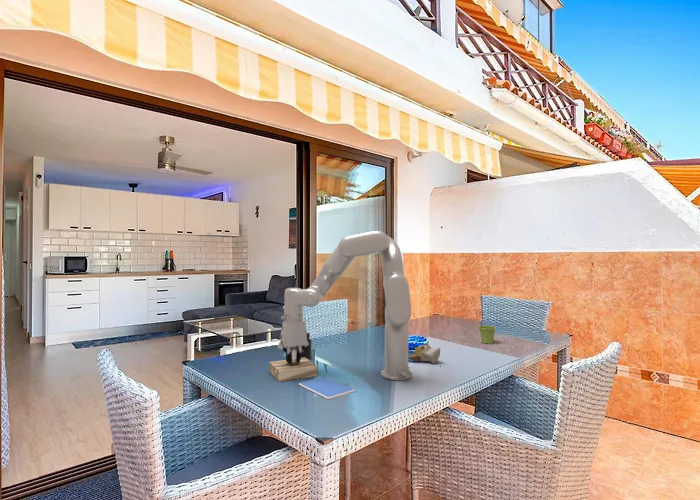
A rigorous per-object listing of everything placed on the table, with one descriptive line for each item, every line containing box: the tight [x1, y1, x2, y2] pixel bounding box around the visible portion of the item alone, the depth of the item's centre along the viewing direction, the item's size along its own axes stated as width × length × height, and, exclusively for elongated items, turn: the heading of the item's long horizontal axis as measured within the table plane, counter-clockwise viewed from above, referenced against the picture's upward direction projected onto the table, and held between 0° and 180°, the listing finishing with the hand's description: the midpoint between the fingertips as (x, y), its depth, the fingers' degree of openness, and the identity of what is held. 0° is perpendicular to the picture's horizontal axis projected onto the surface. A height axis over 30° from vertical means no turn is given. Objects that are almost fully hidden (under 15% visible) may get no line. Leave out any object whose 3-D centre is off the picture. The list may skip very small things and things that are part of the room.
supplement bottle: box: [301, 331, 313, 360], centre depth 182 cm, size 7×7×12 cm
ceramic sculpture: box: [408, 343, 441, 364], centre depth 179 cm, size 11×9×15 cm
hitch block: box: [269, 358, 319, 383], centre depth 159 cm, size 14×16×4 cm
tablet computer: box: [298, 376, 355, 400], centre depth 143 cm, size 19×13×1 cm, turn 40°
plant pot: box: [478, 325, 497, 345], centre depth 216 cm, size 9×9×9 cm
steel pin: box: [289, 346, 297, 366], centre depth 159 cm, size 3×3×10 cm
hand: (293, 362), depth 159 cm, fingers closed on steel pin, 3 cm apart
